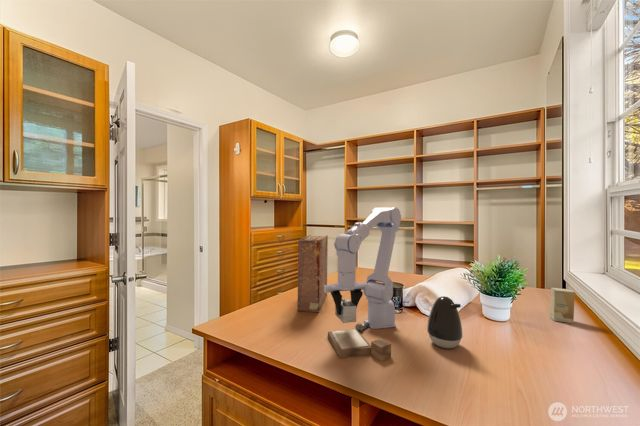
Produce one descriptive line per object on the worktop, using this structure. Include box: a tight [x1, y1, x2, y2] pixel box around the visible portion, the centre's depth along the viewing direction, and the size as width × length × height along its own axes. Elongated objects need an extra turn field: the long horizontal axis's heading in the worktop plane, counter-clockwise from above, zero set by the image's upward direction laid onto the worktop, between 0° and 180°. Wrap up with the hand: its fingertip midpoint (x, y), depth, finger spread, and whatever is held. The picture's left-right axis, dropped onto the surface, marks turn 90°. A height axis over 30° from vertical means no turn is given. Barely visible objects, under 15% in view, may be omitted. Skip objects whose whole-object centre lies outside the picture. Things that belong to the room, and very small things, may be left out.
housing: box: [334, 298, 357, 324], centre depth 89 cm, size 4×8×6 cm, turn 15°
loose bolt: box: [354, 322, 370, 333], centre depth 97 cm, size 6×3×3 cm, turn 140°
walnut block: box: [370, 338, 392, 362], centre depth 79 cm, size 4×4×4 cm
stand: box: [327, 328, 371, 359], centre depth 85 cm, size 10×13×2 cm
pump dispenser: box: [426, 295, 464, 349], centre depth 86 cm, size 10×10×15 cm
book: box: [297, 234, 329, 313], centre depth 125 cm, size 25×9×30 cm, turn 171°
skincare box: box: [549, 287, 576, 324], centre depth 107 cm, size 6×4×12 cm
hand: (346, 313), depth 88 cm, fingers closed on housing, 4 cm apart
